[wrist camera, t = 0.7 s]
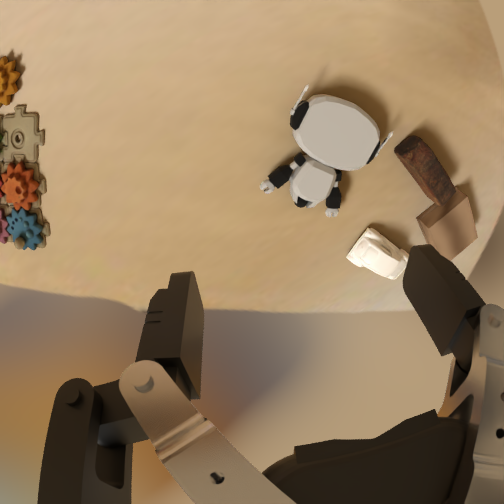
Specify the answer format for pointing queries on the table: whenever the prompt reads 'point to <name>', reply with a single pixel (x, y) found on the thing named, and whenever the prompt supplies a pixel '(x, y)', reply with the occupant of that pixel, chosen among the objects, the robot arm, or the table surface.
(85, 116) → the table surface
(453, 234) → the base brick
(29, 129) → the gear puzzle
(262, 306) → the table surface
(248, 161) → the table surface
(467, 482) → the robot arm
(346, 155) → the robot toy
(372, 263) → the car
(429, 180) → the brick
